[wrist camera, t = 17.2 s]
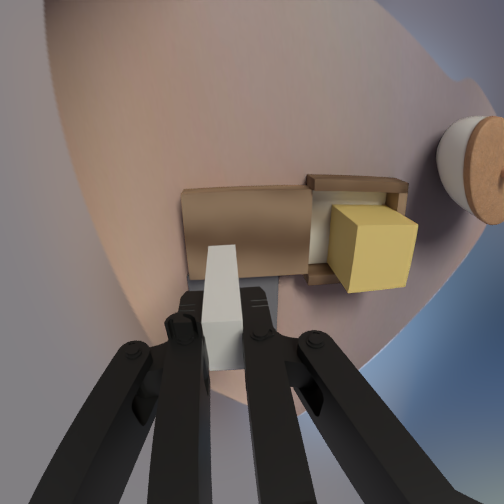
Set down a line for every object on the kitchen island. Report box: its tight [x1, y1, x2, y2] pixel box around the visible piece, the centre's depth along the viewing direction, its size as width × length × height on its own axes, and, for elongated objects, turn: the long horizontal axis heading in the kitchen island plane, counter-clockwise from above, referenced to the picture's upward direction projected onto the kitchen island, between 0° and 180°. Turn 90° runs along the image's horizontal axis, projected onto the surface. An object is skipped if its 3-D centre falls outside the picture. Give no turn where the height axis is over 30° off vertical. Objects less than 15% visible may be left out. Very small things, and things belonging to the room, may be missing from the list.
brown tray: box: [181, 174, 409, 285], centre depth 26 cm, size 10×20×2 cm, turn 91°
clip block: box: [327, 204, 418, 293], centre depth 25 cm, size 6×6×6 cm
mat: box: [187, 275, 279, 331], centre depth 30 cm, size 9×9×1 cm
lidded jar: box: [436, 116, 504, 225], centre depth 21 cm, size 11×11×9 cm
